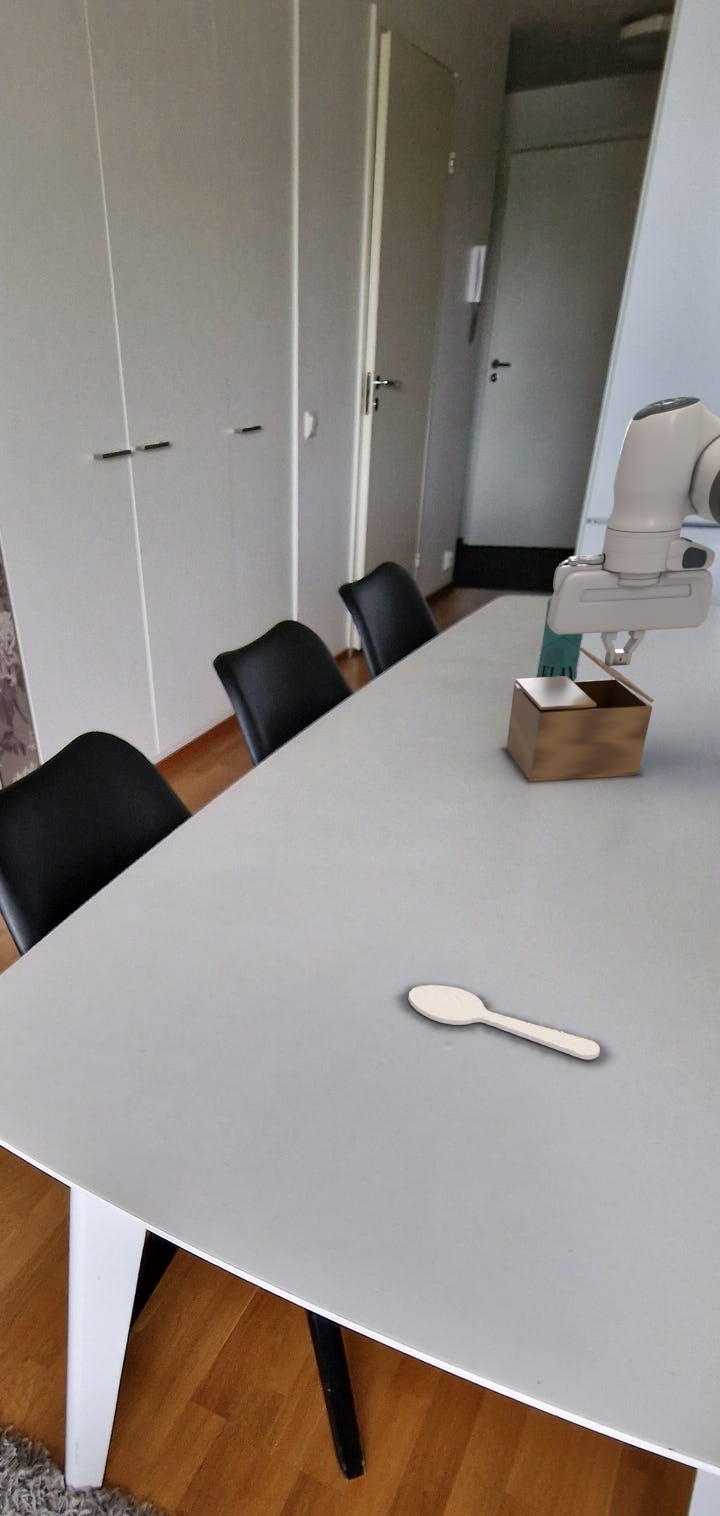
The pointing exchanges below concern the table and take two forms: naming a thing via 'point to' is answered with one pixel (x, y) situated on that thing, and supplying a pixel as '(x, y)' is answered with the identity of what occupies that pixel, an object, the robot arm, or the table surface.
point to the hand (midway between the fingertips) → (616, 664)
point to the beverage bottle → (559, 653)
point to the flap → (616, 675)
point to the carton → (576, 728)
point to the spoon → (492, 1019)
